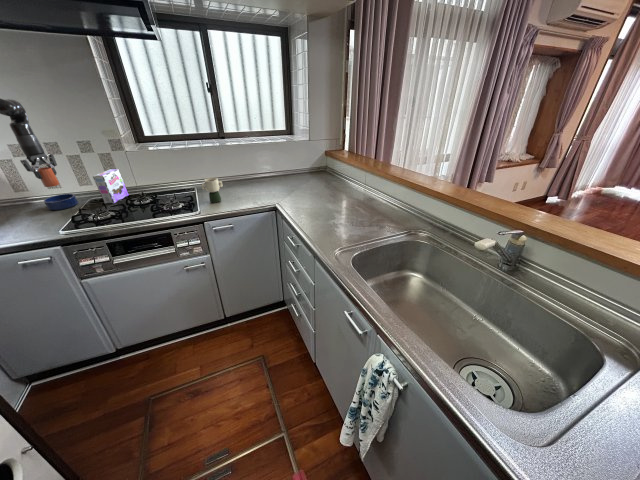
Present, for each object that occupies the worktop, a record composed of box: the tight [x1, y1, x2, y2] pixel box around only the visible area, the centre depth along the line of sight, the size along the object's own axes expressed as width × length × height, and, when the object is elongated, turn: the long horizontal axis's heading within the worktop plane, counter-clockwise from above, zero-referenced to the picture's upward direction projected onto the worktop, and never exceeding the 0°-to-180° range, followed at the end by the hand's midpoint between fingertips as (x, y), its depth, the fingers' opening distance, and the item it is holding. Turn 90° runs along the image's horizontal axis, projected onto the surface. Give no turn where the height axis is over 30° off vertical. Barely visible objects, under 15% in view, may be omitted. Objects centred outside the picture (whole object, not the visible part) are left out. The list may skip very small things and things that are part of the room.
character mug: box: [201, 177, 223, 203], centre depth 151 cm, size 11×7×13 cm, turn 116°
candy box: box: [92, 168, 130, 204], centre depth 155 cm, size 14×6×16 cm, turn 179°
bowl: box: [43, 193, 79, 211], centre depth 150 cm, size 13×13×5 cm
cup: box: [38, 166, 60, 188], centre depth 142 cm, size 6×6×9 cm
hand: (47, 176), depth 142 cm, fingers closed on cup, 6 cm apart
